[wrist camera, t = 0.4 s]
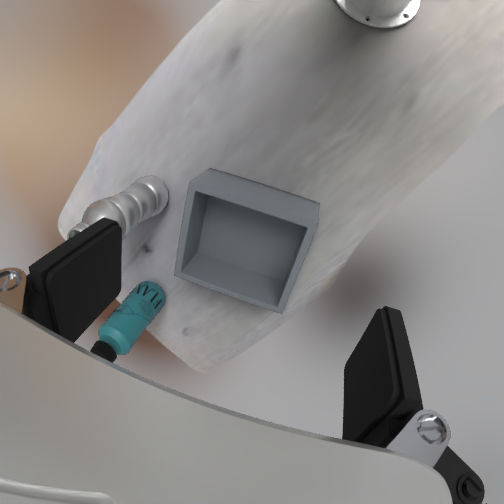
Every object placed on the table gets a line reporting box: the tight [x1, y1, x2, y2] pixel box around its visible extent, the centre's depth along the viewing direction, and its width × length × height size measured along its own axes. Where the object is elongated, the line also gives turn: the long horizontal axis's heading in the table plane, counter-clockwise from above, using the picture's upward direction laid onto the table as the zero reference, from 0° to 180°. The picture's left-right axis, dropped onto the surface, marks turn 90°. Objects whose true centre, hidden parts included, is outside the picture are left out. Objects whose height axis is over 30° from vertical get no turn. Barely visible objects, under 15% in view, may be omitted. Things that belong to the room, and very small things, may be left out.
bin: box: [174, 168, 320, 314], centre depth 46 cm, size 15×17×8 cm
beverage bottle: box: [90, 281, 165, 362], centre depth 51 cm, size 6×7×20 cm
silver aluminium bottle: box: [67, 176, 168, 240], centre depth 42 cm, size 6×7×20 cm
